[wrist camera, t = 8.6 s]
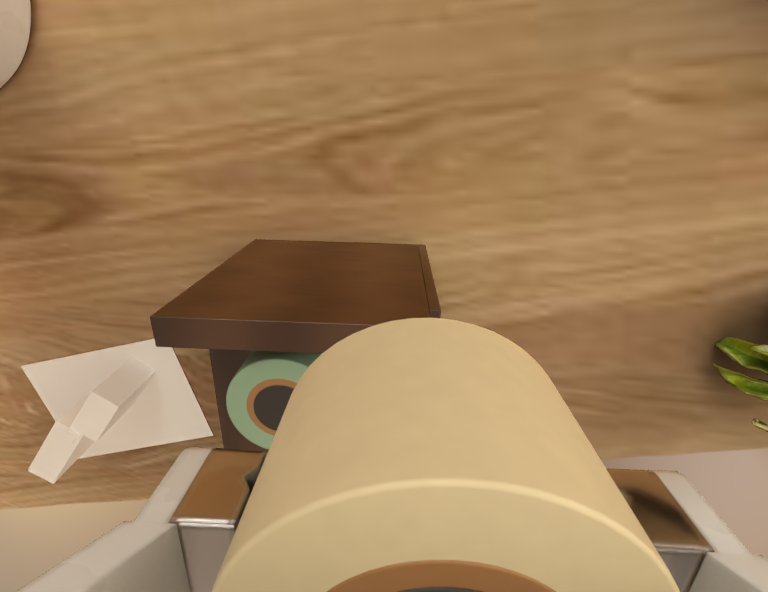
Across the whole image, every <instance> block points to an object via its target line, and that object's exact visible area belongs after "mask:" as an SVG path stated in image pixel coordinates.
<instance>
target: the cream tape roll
mask: <svg viewBox="0 0 768 592" xmlns="http://www.w3.org/2000/svg"><path fill="white" fill-rule="evenodd" d="M212 592H680V590H679V588H678V586H677V584H676V582H675V580H674V579H673V577H672V575H671V573H670V571H669V569H668V568H667V566H666V564H665V563H664V561H663V560H662V558H661V556H660V555H659V553H658V552H657V550H656V548H655V547H654V545H653V543H652V542H651V540H650V539H649V537H648V535H647V534H646V532H645V531H644V529H643V527H642V526H641V524H640V523H639V521H638V519H637V518H636V516H635V515H634V513H633V511H632V510H631V508H630V506H629V505H628V503H627V502H626V500H625V498H624V497H623V495H622V494H621V492H620V490H619V489H618V487H617V486H616V484H615V482H614V481H613V479H612V478H611V476H610V474H609V473H608V471H607V469H606V468H605V466H604V465H603V463H602V461H601V460H600V458H599V457H598V455H597V453H596V452H595V450H594V449H593V447H592V445H591V444H590V442H589V441H588V439H587V437H586V436H585V434H584V432H583V431H582V429H581V428H580V426H579V424H578V423H577V421H576V420H575V418H574V416H573V415H572V413H571V412H570V410H569V408H568V407H567V405H566V403H565V402H564V400H563V399H562V397H561V395H560V394H559V392H558V391H557V389H556V387H555V386H554V384H553V383H552V381H551V379H550V378H549V376H548V375H547V374H546V372H545V371H544V370H543V369H542V367H541V366H540V365H539V364H538V363H537V362H536V361H535V360H534V359H533V358H532V357H531V356H530V355H529V354H528V353H527V352H526V351H525V350H523V349H522V348H520V347H519V346H517V345H516V344H515V343H513V342H512V341H510V340H509V339H507V338H505V337H503V336H501V335H499V334H497V333H495V332H493V331H491V330H488V329H485V328H482V327H479V326H477V325H474V324H470V323H465V322H461V321H456V320H451V319H441V318H409V319H401V320H394V321H389V322H385V323H382V324H378V325H374V326H371V327H368V328H366V329H363V330H361V331H358V332H356V333H353V334H352V335H350V336H348V337H346V338H344V339H343V340H341V341H339V342H337V343H336V344H334V345H333V346H332V347H330V348H329V349H328V350H326V351H325V352H324V353H322V354H321V355H320V356H319V357H318V358H317V359H316V360H315V361H314V362H313V363H312V364H311V365H310V366H309V367H308V369H307V370H306V371H305V373H304V374H303V375H302V377H301V378H300V379H299V381H298V383H297V385H296V387H295V388H294V390H293V392H292V394H291V396H290V399H289V401H288V404H287V406H286V409H285V411H284V414H283V416H282V419H281V421H280V423H279V426H278V428H277V431H276V433H275V436H274V438H273V441H272V443H271V446H270V448H269V450H268V453H267V455H266V458H265V460H264V463H263V465H262V468H261V470H260V473H259V475H258V477H257V480H256V482H255V485H254V487H253V490H252V492H251V495H250V497H249V500H248V502H247V504H246V507H245V509H244V512H243V514H242V517H241V519H240V522H239V524H238V526H237V529H236V531H235V534H234V536H233V539H232V541H231V544H230V546H229V549H228V551H227V553H226V556H225V558H224V561H223V563H222V566H221V568H220V571H219V573H218V576H217V578H216V580H215V583H214V586H213V589H212Z"/></svg>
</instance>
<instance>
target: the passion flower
mask: <svg viewBox="0 0 768 592" xmlns="http://www.w3.org/2000/svg"><path fill="white" fill-rule="evenodd" d="M715 346H716V347H718V348H719V349H721V350H722V351H723V352H724V353H725V354H726V355H727V356H728V357H729V358H730V359H732V360H733V361H735V362H736V363H738V364H739V365H741V366H743V367H745V368H749V369H754V370H758V371H760V372H763V373H765V374H768V345H757V344H755V343H751V342H748V341H745V340H742V339H737V338H734V337H725V338H724V339H723V340H722V341H721V342H716V344H715ZM713 365H714V367H716V368H717V369H718V371H719V372H720V374H721V376H722V377H723V378H724V379H725V380H726V382H727V383H728V384H730V385H731V386H733V387H735V388H736V389H739V390H741V391H742V392H744V393H748V394H750V395H752V396H755V397H756V398H759V399H762V400H766V401H767V400H768V381H765V380H760V379H755V378H752V377H749V376H746V375H744V374H742V373H739V372H735V371H731V370H729V369H725V368H723V367H720V366H718V365H716V364H714V363H713ZM752 424H753V425H754V426H756V427H758V428H760V429H763V430H765V431H767V432H768V425H767V424H765V423H763V422H761V421H760V420H758V419H753V420H752Z"/></svg>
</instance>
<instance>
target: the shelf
mask: <svg viewBox="0 0 768 592" xmlns="http://www.w3.org/2000/svg"><path fill="white" fill-rule="evenodd" d="M440 315H441V309H440V305H439V301H438V297H437V293H436V288H435V284H434V280H433V276H432V272H431V268H430V263H429V259H428V255H427V251H426V247H425V245H410V244H379V243H349V242H318V241H288V240H257V239H256V240H254V241H253V242H251V243H250V244H249V245H247V246H246V247H245V248H243V249H242V250H240V251H239V252H238V253H236V254H235V255H234V256H232V257H231V258H229V259H228V260H227V261H225V262H224V263H223V264H221V265H220V266H219V267H217V268H216V269H214V270H213V271H212V272H210V273H209V274H208V275H206V276H205V277H204V278H202V279H201V280H199V281H198V282H197V283H195V284H194V285H193V286H191V287H190V288H188V289H187V290H186V291H184V292H183V293H182V294H180V295H179V296H178V297H176V298H175V299H173V300H172V301H171V302H169V303H168V304H167V305H165V306H164V307H162V308H161V309H160V310H158V311H157V312H156V313H154V314H153V315H152V316H150V319H151V324H152V329H153V334H154V339H155V344H156V347H176V348H202V349H209V351H210V358H211V365H212V371H213V378H214V385H215V391H216V398H217V405H218V412H219V418H220V425H221V432H222V439H223V445H224V449H235V450H248V451H262V452H268V449H265V448H262V447H260V446H258V445H256V444H254V443H252V442H251V441H249V440H248V439H247V438H245V437H244V436H243V435H242V434H241V433H240V432H239V431H238V430H237V429H236V427H235V426H234V424H233V423H232V421H231V419H230V417H229V414H228V411H227V406H226V395H227V390H228V387H229V384H230V382H231V381H232V379H233V378H234V376H235V375H236V373H237V372H238V370H239V369H240V367H241V366H242V364H243V363H244V361H245V360H246V358H247V357H248V355H249V354H250V353H251V351H252V350H254V351H280V352H305V353H324V352H325V351H326V350H328V349H329V348H330V347H332V346H333V345H334V344H336V343H337V342H339V341H341V340H343V339H344V338H346V337H348V336H350V335H352V334H353V333H356V332H358V331H361V330H363V329H366V328H368V327H371V326H374V325H378V324H382V323H385V322H389V321H394V320H401V319H409V318H440Z"/></svg>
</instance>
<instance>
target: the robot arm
mask: <svg viewBox="0 0 768 592" xmlns="http://www.w3.org/2000/svg"><path fill="white" fill-rule="evenodd" d="M30 28H31V4H30V0H0V88H1V87H2V86H3V85H4V84H5V83H6V82H7V81H8V80H9V79H10V78H11V77H12V76H13V74H14V73H15V72H16V70H17V69H18V67H19V65H20V64H21V61H22V59H23V57H24V55H25V52H26V49H27V45H28V41H29V36H30ZM267 453H268V452H262V451H248V450H235V449H222V448H215V449H212V448H200V447H188V448H186V449H185V450H183V451H182V452H181V453H180V455H179V456H178V458H177V459H176V461H175V462H174V464H173V465H172V467H171V468H170V469H169V471H168V472H167V474H166V475H165V477H164V478H163V480H162V481H161V482H160V484H159V485H158V487H157V488H156V490H155V491H154V493H153V494H152V496H151V497H150V498H149V500H148V501H147V503H146V504H145V506H144V507H143V509H142V510H141V512H140V513H139V514H138V516H137V517H136V519H135V520H134V521H124V522H123V523H121V524H119V525H118V526H116V527H115V528H113V529H112V530H110V531H109V532H107V533H106V534H104V535H102V536H101V537H99V538H98V539H96V540H95V541H93V542H92V543H90V544H89V545H87V546H85V547H84V548H82V549H81V550H79V551H78V552H76V553H75V554H73V555H72V556H70V557H68V558H67V559H65V560H64V561H62V562H61V563H59V564H58V565H56V566H54V567H53V568H52V569H50V570H48V571H47V572H45V573H44V574H42V575H41V576H39V577H37V578H36V579H34V580H33V581H31V582H30V583H28V584H27V585H25V586H24V587H22V588H20V589H19V590H17V591H16V592H212V589H213V586H214V583H215V580H216V578H217V576H218V573H219V571H220V568H221V566H222V563H223V561H224V558H225V556H226V553H227V551H228V549H229V546H230V544H231V541H232V539H233V536H234V534H235V531H236V529H237V526H238V524H239V522H240V519H241V517H242V514H243V512H244V509H245V507H246V504H247V502H248V500H249V497H250V495H251V492H252V490H253V487H254V485H255V482H256V480H257V477H258V475H259V473H260V470H261V468H262V465H263V463H264V460H265V458H266V455H267ZM607 471H608V473H609V474H610V476H611V478H612V479H613V481H614V482H615V484H616V486H617V487H618V489H619V490H620V492H621V494H622V495H623V497H624V498H625V500H626V502H627V503H628V505H629V506H630V508H631V510H632V511H633V513H634V515H635V516H636V518H637V519H638V521H639V523H640V524H641V526H642V527H643V529H644V531H645V532H646V534H647V535H648V537H649V539H650V540H651V542H652V543H653V545H654V547H655V548H656V550H657V552H658V553H659V555H660V556H661V558H662V560H663V561H664V563H665V564H666V566H667V568H668V569H669V571H670V573H671V575H672V577H673V579H674V580H675V582H676V584H677V586H678V588H679V590H680V592H768V559H767V558H765V557H764V556H762V555H753V554H750V552H749V551H748V550H747V549H746V547H745V546H744V545H743V544H742V543H741V542H740V540H739V539H738V538H737V537H736V536H735V534H734V533H733V532H732V531H731V530H730V529H729V527H728V526H727V525H726V524H725V523H724V521H723V520H722V519H721V518H720V517H719V516H718V514H717V513H716V512H715V511H714V510H713V508H712V507H711V506H710V505H709V504H708V503H707V502H706V500H705V499H704V498H703V497H702V495H701V494H700V493H699V492H698V491H697V490H696V488H695V487H694V486H693V485H692V484H691V482H690V481H689V480H688V479H687V478H686V477H685V476H684V475H682V474H681V473H679V472H678V471H663V470H647V471H645V470H630V469H607Z"/></svg>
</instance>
